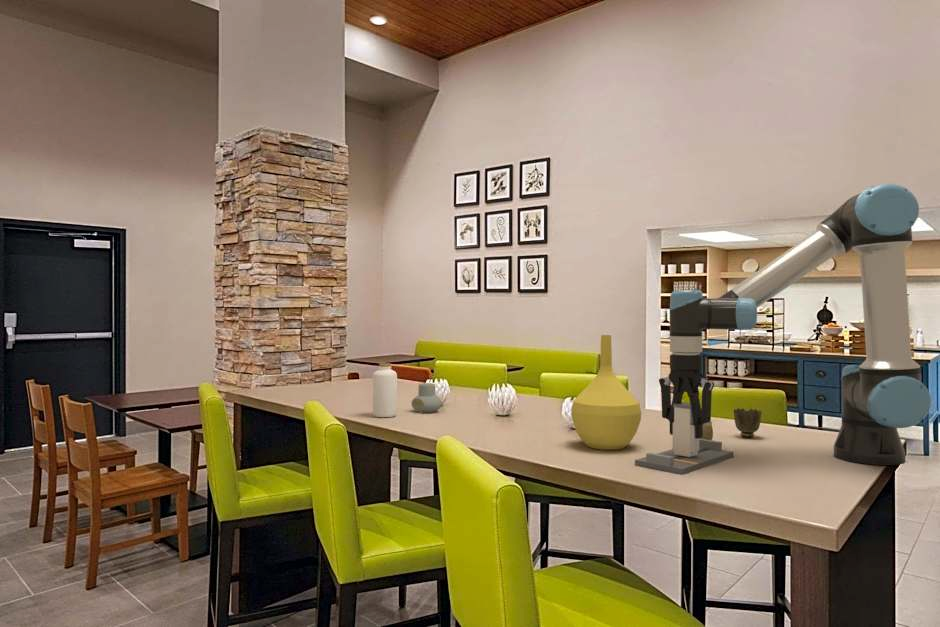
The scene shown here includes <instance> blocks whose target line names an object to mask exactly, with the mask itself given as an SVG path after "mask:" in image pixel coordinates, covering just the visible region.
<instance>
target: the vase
mask: <svg viewBox="0 0 940 627" xmlns="http://www.w3.org/2000/svg"><path fill="white" fill-rule="evenodd" d="M612 350H613V349H612V334H601V335H600V354H599V355H600V358H599V359H600V364H599V365H600V367H599V370H598V372H597V374H596V376H595V377H594V378H593V379H592V380H591V381H590V383H589V384H587V386H586V387H585V388H584V389H583V390H582V391H581V392H580V393H579V394H578V395H577V396H576V397H575V398H574V399H573V401H572V405H571V412H570V413H571V415H570V416H571V419H572V422H573V426H574V429H575V432H576V433H577V435H578V436H579V439H580V440H581V441H582V442H583V443H584V444H585V445H586V446H587V447H589V448H592V449H594V450H595V449H596V450H604V451H615V450H616V451H617V450H621V449H624V448H626V447H627V446H628V445H629V444H630V443H631V442H632V441H633V438H635V436H636V434H637V433H638V429H639V426H640V423H641V420H642V409H641V403H640V402H639V401H638V400H637V398H636V397H635V396H634V395H633V394H631V392H630V391H629V390H628V389H627V388H626V387H625V386H624V384H623V383H622V382H621V381H620V379H619V378H618V377H617V376H616V373H615V372H614V369H613V365H612V360H613V357H612V354H613V353H612Z"/></svg>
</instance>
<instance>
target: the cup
mask: <svg viewBox="0 0 940 627" xmlns="http://www.w3.org/2000/svg"><path fill="white" fill-rule="evenodd" d="M762 412H763V411H762V410H761V409H760V410H758V408H754V409H753V408H749V409H748V410H746V409H745V408H744V407H742V408H739V407H737V408H736V409H735V408H734V409H733V417H734V424H735V427H736V429H737V430H738V431H740V437H741V438H743V439H753V438H754V437H755V433H756V432H757V431H758V430H759V429H760V425H761V419H762Z"/></svg>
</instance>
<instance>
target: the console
mask: <svg viewBox="0 0 940 627" xmlns="http://www.w3.org/2000/svg"><path fill="white" fill-rule="evenodd" d="M645 455H646V456H643V457H641V458H638V459H634V465H635V466H637V467H642V468H647V469H653V470H657V471H662V472H668V473H673V474H678V475H685V474H688V473H690V472H693V471H696V470H699V469H702V468H705V467H707V466H708V467H709V466H711V465H713V464H716V463H719V462H722V461H725V460H727V459H731V458H734V451H733V450H732V451H731V450H726V449H723V441H718V440H713V439H712V440H706V439H699V451H698V455H695V456H691V457H686V456H680V455H675V454H674V449H673V448H672V449H668V450H665V451H661V452H658V453H655V452H647V453H646V454H645Z"/></svg>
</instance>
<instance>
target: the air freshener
mask: <svg viewBox="0 0 940 627" xmlns="http://www.w3.org/2000/svg"><path fill="white" fill-rule="evenodd" d="M442 405H443V401H442V399H441V398H440V397H439V396H437V395H436V384H435V383H432V382H431V383H429V382H428V383H427V382H424V383H422V382H421V383H419V384H418V395H416V396H415V397H414V398H413V399H412V400H411V407H412V409H413V410H414V411H416V412H418V413H419V412H432V413H436V412H437V411H439V410H440V409H441V408H442Z"/></svg>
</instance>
